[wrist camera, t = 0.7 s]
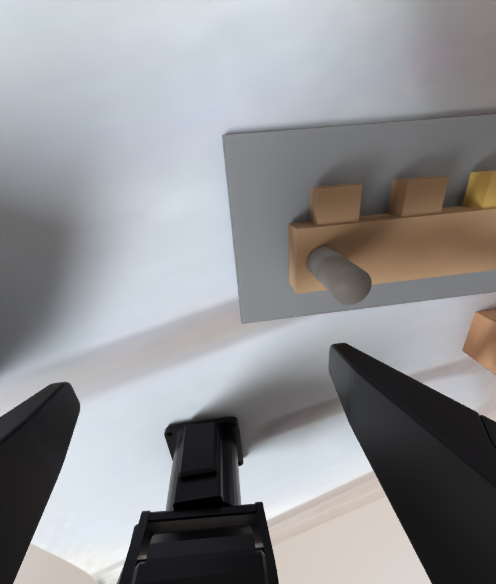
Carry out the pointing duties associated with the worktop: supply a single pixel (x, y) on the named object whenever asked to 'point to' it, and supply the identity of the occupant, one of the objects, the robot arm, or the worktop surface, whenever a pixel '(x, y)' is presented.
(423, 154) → the base plate
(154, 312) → the worktop surface
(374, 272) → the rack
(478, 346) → the yellow-striped wooden block
